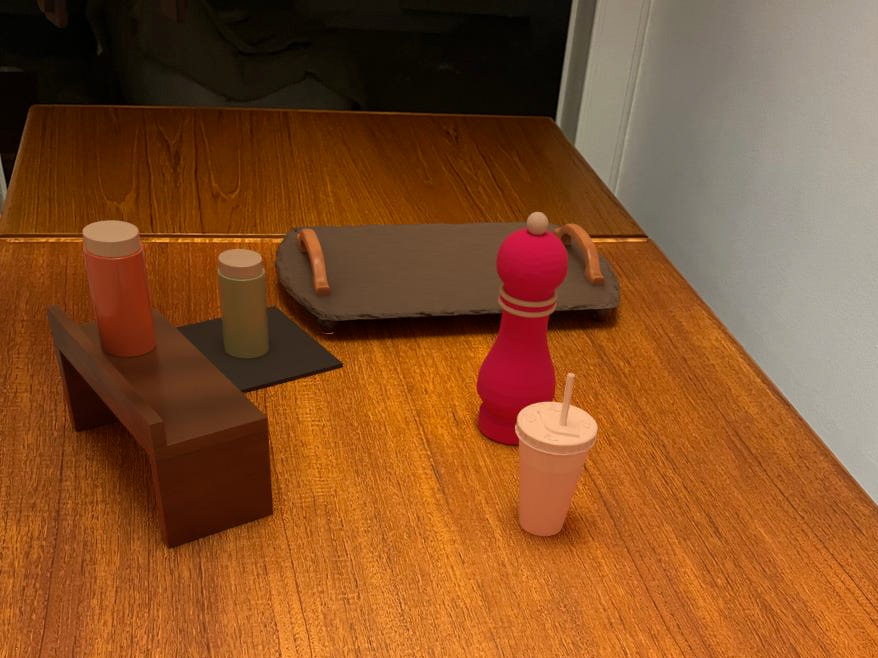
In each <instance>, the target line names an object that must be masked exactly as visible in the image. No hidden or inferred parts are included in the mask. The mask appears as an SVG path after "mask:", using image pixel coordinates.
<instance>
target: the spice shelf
mask: <svg viewBox="0 0 878 658" xmlns="http://www.w3.org/2000/svg"><path fill="white" fill-rule="evenodd" d="M45 309H46V314H47V318H48V324H49V327H50V328H49V329H50V332H51V338H52V342H53V346H54V351H55V356H56V360H57V364H58V370H59V373H60V379H61V384H62V388H63V393H64V397H65V402H66V407H67V411H68V416H69V420H70V421H69V422H70V425H71V426H72V428H73V429H74V430H75V431H76V432H79V431H83V430H88V429H92V428H96V427H99V426H103V425H106V424H110V423H113V422H117V421H120V423H121V424H122V425H123V426H124V428H126V430H127V431H128V432H129V433H130V434H131V435H132V436H133V438H134V439H135V440H136V441H137V442H138V444H139V445H140V447H142V448H143V449H144V451H145V452H146V453H147V454H148V455H149V462H150V469H151V475H152V482H153V487H154V494H155V501H156V507H157V514H158V520H159V526H160V533H161V538H162V539H161V540H162V541H163V543H164V544H165V545H166V546H167V548H168V549H171V548H174V547H177V546H179V545H183V544H186V543H189V542H192V541H195V540H199V539H201V538H203V537H207V536H210V535H213V534H216V533H218V532H219V533H220V532H223V531H225V530H228V529H231V528H234V527H237V526H240V525H244V524H247V523H249V522H252V521H255V520H258V519H261V518H264V517H267V516H270V515H273V514H274V503H273V501H274V500H273V486H272V469H271V453H270V452H271V451H270V436H269V435H270V434H269V421H268V420H269V419H268V416H267V415H266V414H265V413H264V412H263V411H262V410H261V409H260V408H259V407H258V406H257V405H256V404H254V402H252V401H251V400H250V399H249V398H248V397H247V395H245V393H242V392H241V391H240V390H239V389H238V388H237V387H236V386H235V385H234V384H233V383H232V382H231V381H230V380H229V379H228V378H227V377H226V376H225V375H224V374H222V373H221V372H220V371H219V370H218V369H217V368H216V367H215V366H214V365H213V364H212V363H211V362H210V361H209V360H208V359H207V358H206V357H205V356H204V355H203V354H202V353H201V352H200V351H199V350H198V349H197V348H196V347H195V346H194V345H193V344H192V343H191V342H190V341H189V340H188V339H187V338H186V337H185V336H184V335H182V334H181V333H180V332H179V331H178V330H177V329H176V328H175V327H176V326H174V325H173V324H172V323H171V322H170V321H169V319H167V317H165V316H164V315H163V314H162V313H161V312H160V311H159V310H158V309H157V308H155V307H153V308H152V311H153V318H154V325H155V332H156V340H157V345H156V347H155V348H154V349H153V350H152V351H151V352H149V353H147V354H144V355H141V356H136V357H118V356H113V355H110V354H108V353H106V352H104V351H103V350H102V349H101V347H100V342H99V336H98V331H97V325H96V320H91V321H88V322H83V323H78V324H76V322H75V321H74V320H73V319H72V318H71V317H70V315H68V313H67V312H66V311H65V310H64V309H63V308H62V307H61V306H60V305H59V304H58V303H57V304H53V305H48V306H47V305H46V306H45Z"/></svg>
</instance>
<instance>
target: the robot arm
mask: <svg viewBox="0 0 878 658" xmlns="http://www.w3.org/2000/svg"><path fill="white" fill-rule="evenodd" d="M36 2H37V5H38V8H39V10H40V12H41V13H42V14H45V17H46V20H47V21H49V22H50V23H52V24H53V25H54V26H56V27H57V28H59V29H62V28H65V29H66V28H67V26H69V18H68V13H67V3H66V0H36ZM160 7H161V13H162V15H164V16H165V17H167V18H168V19H170V20H172V21H174V22H175V23H177V24H179V25H181V24H186V10H188V8H189V0H160Z"/></svg>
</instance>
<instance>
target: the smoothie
mask: <svg viewBox="0 0 878 658" xmlns="http://www.w3.org/2000/svg"><path fill="white" fill-rule="evenodd" d="M575 376H576V374H575V373H573V372H568V373H567V375H566V380H565V387H564V392H563V397H562V398H563V399H562V402H558V401H552V402H541V403H535V404H532V405H529V406H527V407H525V408H524V409H523V410H521V411H520V413H519V414H518V417H517V423H516V426H515V431H516V434H517V436H518V438H519V445H518V523H519V526H520V527H521V529H523V530H524V531H525V532H527V533H528V534H531V535H534V536H537V537H550V536H555V535H556V534H558V533H559V532H560V531H561V530H562V529H563V527H564V524H565V520H566V517H567V515H568V512H569V509H570V506H571V503H572V500H573V497H574V494H575V492H576V489H577V486H578V483H579V479H580V478H581V475H582V471H583V469H584V465H585V463H586V460H587V457H588V454H589V450H591V449H592V448H593V447H594V445H596V443H597V438H598V437H597V434H598V428H599V427H598V423H597V422H596V420H595V419H594V417H593V416H592V415H591V414H589V413H588V412H587V411H585V410H584V409H582V408H580V407H578V406H575V405H572V404H571V400H572V395H573V394H572V393H573V390H574V389H573V387H574V384H575V383H574V382H575Z"/></svg>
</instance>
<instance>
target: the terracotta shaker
mask: <svg viewBox="0 0 878 658" xmlns="http://www.w3.org/2000/svg"><path fill="white" fill-rule="evenodd" d="M82 237H83V245H82V253H83V259H84V265H85V269H86V274H87V275H86V276H87V280H88V281H87V282H88V286H89V292H90V297H91V302H92V308H93V314H94V318H95V320H94V321H96V325H97V331H98V336H99V342H100V347H101V349H102V350H103V351H104V352H106V353H108V354H110V355H113V356H118V357H136V356H141V355H144V354H147V353H149V352H151V351H152V350H153V349H154V348H155V347H156V345H157V340H156V332H155V325H154V318H153V311H152V309H153V304H152V296H151V289H150V281H149V275H148V268H147V260H146V253H145V246H144V244H143V242H142V241H141V238H140V230H139V228H138V227H137V226H136V225H135V224H133V223H131V222H128V221H123V220H115V219H114V220H109V219H108V220H100V221H95V222H92V223H89V224H87V225H86V226H84V227H83V229H82Z"/></svg>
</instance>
